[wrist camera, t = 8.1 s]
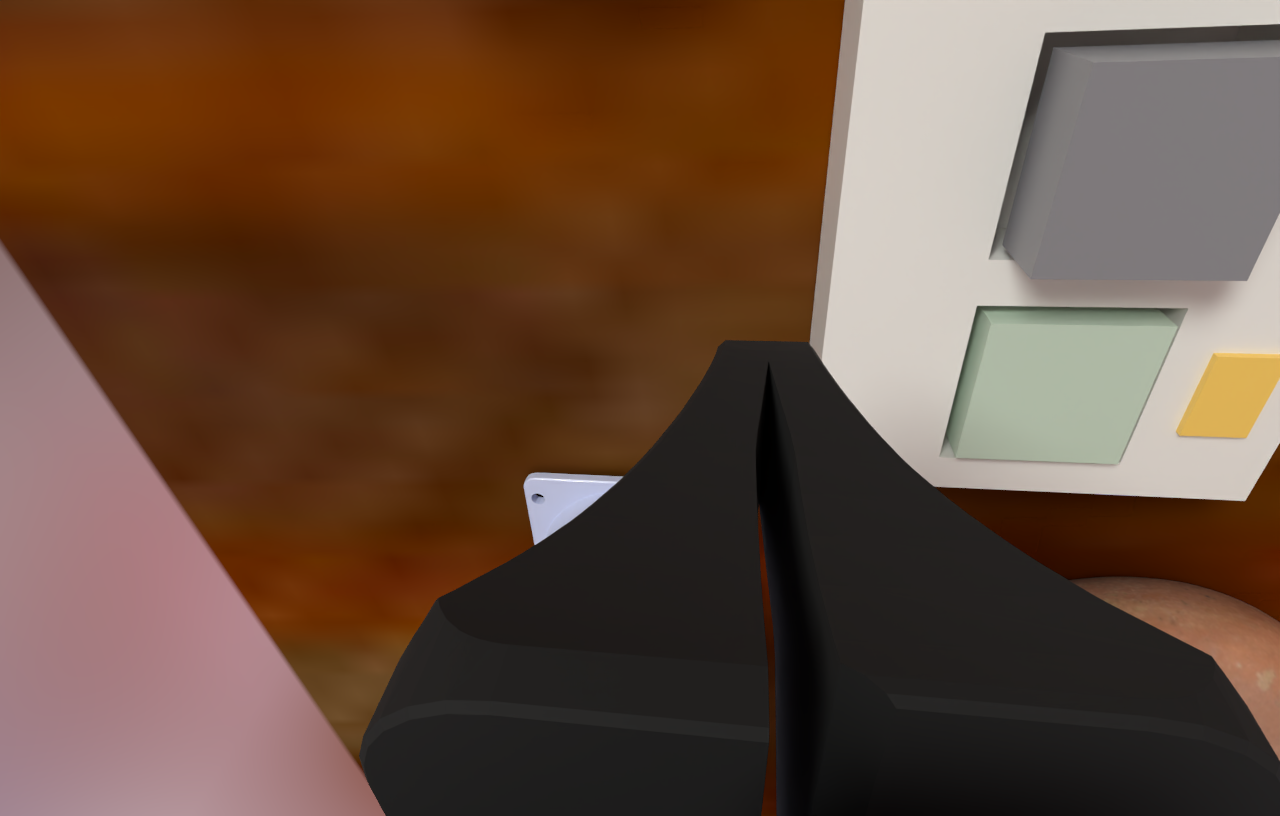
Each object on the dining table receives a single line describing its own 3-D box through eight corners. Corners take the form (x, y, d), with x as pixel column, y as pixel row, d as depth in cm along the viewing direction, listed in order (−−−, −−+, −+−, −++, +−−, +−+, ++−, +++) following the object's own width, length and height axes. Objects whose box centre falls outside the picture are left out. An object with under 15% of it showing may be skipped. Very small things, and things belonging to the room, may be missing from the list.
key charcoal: (1195, 245, 16) (1247, 281, 14) (1002, 245, 16) (1030, 279, 15) (1282, 40, 14) (1355, 54, 12) (1053, 47, 14) (1093, 62, 12)
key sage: (1087, 421, 20) (1117, 464, 19) (939, 416, 21) (955, 457, 19) (1138, 291, 18) (1177, 326, 16) (970, 289, 19) (991, 323, 17)
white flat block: (1189, 437, 22) (1249, 505, 19) (801, 423, 23) (808, 485, 21) (1659, -508, 11) (1938, -641, 9) (887, -415, 13) (924, -506, 10)
